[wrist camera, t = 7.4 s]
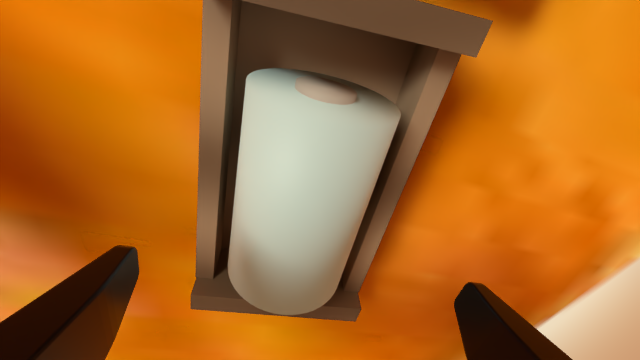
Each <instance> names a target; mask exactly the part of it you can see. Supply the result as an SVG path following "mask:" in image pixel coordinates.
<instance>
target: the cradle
mask: <svg viewBox="0 0 640 360" xmlns="http://www.w3.org/2000/svg"><path fill="white" fill-rule="evenodd" d="M492 22H493V21H491V20H487V19H484V18H480V17H476V16H473V15H469V14H465V13H461V12H458V11H454V10H450V9H446V8H443V7H439V6H435V5H432V4H428V3H424V2H420V1H417V0H203V21H202V59H201V96H200V134H199V171H198V209H197V246H196V277H197V278H196V281H195V284H194V287H193V290H192V293H191V309H197V310H211V311H224V312H237V313H250V314H264V315H277V316H290V317H303V318H316V319H330V320H343V321H356V319H357V317H358V315H359V313H360V311H361V306H360V301H359V296H358V292H359V290H360V288H361V286H362V283H363V281H364V279H365V276H366V274H367V272H368V269H369V267H370V265H371V262H372V260H373V258H374V256H375V253H376V251H377V249H378V246H379V244H380V242H381V239H382V237H383V235H384V232H385V230H386V228H387V225H388V223H389V221H390V218H391V216H392V214H393V212H394V209H395V207H396V205H397V202H398V200H399V198H400V195H401V193H402V191H403V188H404V186H405V184H406V181H407V179H408V177H409V174H410V172H411V170H412V168H413V165H414V163H415V161H416V158H417V156H418V154H419V151H420V149H421V147H422V144H423V142H424V140H425V137H426V135H427V133H428V130H429V128H430V126H431V124H432V121H433V119H434V117H435V114H436V112H437V110H438V107H439V105H440V103H441V100H442V98H443V96H444V93H445V91H446V89H447V86H448V84H449V82H450V80H451V77H452V75H453V73H454V70H455V68H456V66H457V63H458V61H459V59H460V56H461V54H463V55H468V56H472V57H477V55H478V52H479V50H480V48H481V46H482V44H483V42H484V39H485V37H486V35H487V33H488V31H489V28H490V26H491V24H492ZM268 68H286V69H297V70H305V71H311V72H316V73H321V74H325V75H330V76H333V77H337V78H341V79H344V80H347V81H350V82H353V83H356V84H359V85H361V86H364V87H366V88H369V89H371V90H373V91H375V92H377V93H379V94H381V95H382V96H384V97H386V98H387V99H389V100H390V101H392V102H393V103H394V104H395V105H396V106H397V107H398V108H399V110H400V113H401V117H400V120H399V122H398V125H397V128H396V131H395V133H394V136H393V139H392V141H391V144H390V147H389V149H388V152H387V155H386V157H385V160H384V163H383V165H382V168H381V171H380V173H379V176H378V179H377V182H376V184H375V187H374V190H373V192H372V195H371V198H370V200H369V203H368V206H367V208H366V211H365V214H364V216H363V219H362V222H361V225H360V227H359V230H358V233H357V235H356V238H355V241H354V243H353V246H352V249H351V251H350V254H349V257H348V259H347V262H346V265H345V267H344V270H343V273H342V276H341V278H340V281H339V284H338V286H337V289H336V291H335V293H334V294H333V296H332V297H331V298H330V299H329V300H328V301H327V302H326V303H325V304H324V305H322V306H321V307H319V308H317V309H315V310H313V311H310V312H308V313H303V314H298V315H280V314H274V313H270V312H267V311H264V310H261V309H259V308H257V307H255V306H253V305H251V304H250V303H249V302H247V301H246V300H244V299H243V298H242V297H241V296H240V295H239V294H238V292H237V291H236V290H235V288H234V287H233V285H232V283H231V281H230V278H229V274H228V257H229V247H230V237H231V226H232V216H233V206H234V196H235V186H236V176H237V166H238V156H239V146H240V136H241V125H242V115H243V105H244V95H245V85H246V78H247V76H248V75H249V74H250V73H252V72H254V71H256V70H261V69H268Z"/></svg>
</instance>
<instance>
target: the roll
mask: <svg viewBox="0 0 640 360" xmlns="http://www.w3.org/2000/svg"><path fill="white" fill-rule="evenodd" d="M400 117H401V113H400V110H399V108H398V107H397V106H396V105H395V104H394V103H393V102H392V101H390V100H389V99H387V98H386V97H384V96H382V95H381V94H379V93H377V92H375V91H373V90H371V89H369V88H366V87H364V86H361V85H359V84H356V83H353V82H350V81H347V80H344V79H341V78H337V77H333V76H330V75H325V74H321V73H316V72H311V71H305V70H297V69H286V68H268V69H261V70H256V71H254V72H252V73H250V74H249V75H248V76H247V78H246V85H245V95H244V105H243V115H242V125H241V136H240V146H239V156H238V166H237V176H236V186H235V196H234V206H233V216H232V226H231V237H230V247H229V257H228V274H229V278H230V281H231V283H232V285H233V287H234V288H235V290H236V291H237V292H238V294H239V295H240V296H241V297H242V298H243V299H244V300H246V301H247V302H249V303H250V304H251V305H253V306H255V307H257V308H259V309H261V310H264V311H267V312H270V313H274V314H280V315H298V314H303V313H308V312H310V311H313V310H315V309H317V308H319V307H321V306H322V305H324V304H325V303H326V302H327V301H328V300H329V299H330V298H331V297H332V296H333V294H334V293H335V291H336V289H337V286H338V284H339V281H340V278H341V276H342V273H343V270H344V267H345V265H346V262H347V259H348V257H349V254H350V251H351V249H352V246H353V243H354V241H355V238H356V235H357V233H358V230H359V227H360V225H361V222H362V219H363V216H364V214H365V211H366V208H367V206H368V203H369V200H370V198H371V195H372V192H373V190H374V187H375V184H376V182H377V179H378V176H379V173H380V171H381V168H382V165H383V163H384V160H385V157H386V155H387V152H388V149H389V147H390V144H391V141H392V139H393V136H394V133H395V131H396V128H397V125H398V122H399V120H400Z"/></svg>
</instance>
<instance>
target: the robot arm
mask: <svg viewBox="0 0 640 360" xmlns="http://www.w3.org/2000/svg"><path fill="white" fill-rule="evenodd" d="M138 275H139V264H138V255H137V249H136V248H135V247H132V246H122V245H118V246H115V247H113V248H112V249H110V250H109V251H107V252H106V253H104V254H103V255H101V256H100V257H98V258H97V259H95V260H94V261H92V262H91V263H89V264H88V265H86V266H85V267H83V268H82V269H80V270H79V271H77V272H76V273H74V274H73V275H71V276H70V277H68V278H67V279H65V280H64V281H62V282H61V283H59V284H58V285H56V286H55V287H53V288H52V289H50V290H49V291H47V292H46V293H44V294H43V295H41V296H40V297H38V298H37V299H35V300H34V301H32V302H31V303H29V304H27V305H26V306H24V307H23V308H21V309H20V310H18V311H17V312H15V313H14V314H12V315H11V316H9V317H8V318H6V319H5V320H3V321H2V322H0V360H105V358H106V356H107V354H108V352H109V350H110V348H111V346H112V344H113V342H114V340H115V337H116V335H117V332H118V330H119V327H120V324H121V322H122V319H123V316H124V314H125V311H126V308H127V306H128V303H129V300H130V298H131V295H132V292H133V290H134V287H135V285H136V282H137V279H138ZM454 308H455V312H456V316H457V321H458V325H459V329H460V333H461V337H462V341H463V345H464V350H465V354H466V357H467V360H572V359H571V358H570V357H569V356H568V355H566V354H565V353H564V352H563V351H562V350H561V349H559V348H558V347H557V346H556V345H554V344H553V343H552V342H551V341H550V340H549V339H547V338H546V337H545V336H544V335H543V334H542V333H540V332H539V331H538V330H537V329H536V328H534V327H533V326H532V325H531V324H530V323H528V322H527V321H526V320H525V319H524V318H523V317H521V316H520V315H519V314H518V313H517V312H515V311H514V310H513V309H512V308H511V307H510V306H508V305H507V304H506V303H505V302H504V301H502V300H501V299H500V298H499V297H498V296H496V295H495V294H494V293H493V292H492V291H491V290H489V289H488V288H487V287H486V286H485V285H483V284H481V283H473V282H468V283H466V284H465V286H464V287H463V289H462V290H461V291H460V293H459V294H458V296H457V297H456V299H455V302H454Z"/></svg>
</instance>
